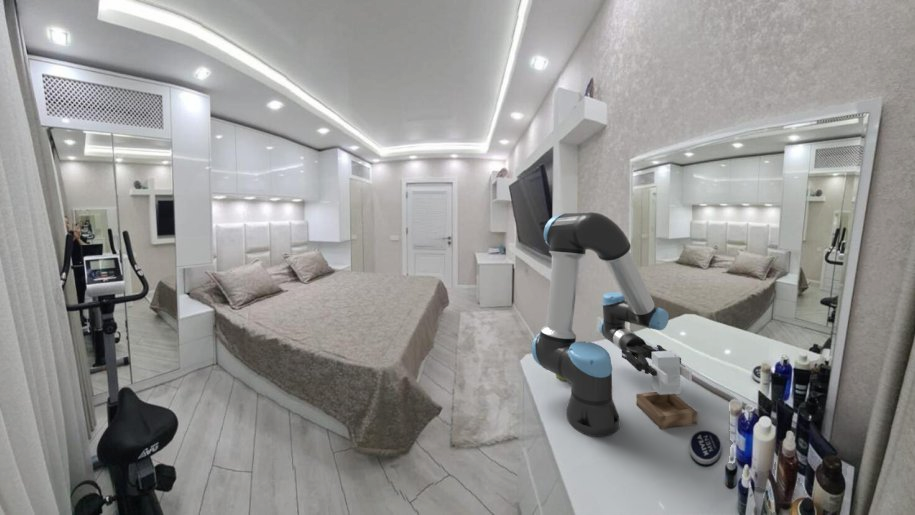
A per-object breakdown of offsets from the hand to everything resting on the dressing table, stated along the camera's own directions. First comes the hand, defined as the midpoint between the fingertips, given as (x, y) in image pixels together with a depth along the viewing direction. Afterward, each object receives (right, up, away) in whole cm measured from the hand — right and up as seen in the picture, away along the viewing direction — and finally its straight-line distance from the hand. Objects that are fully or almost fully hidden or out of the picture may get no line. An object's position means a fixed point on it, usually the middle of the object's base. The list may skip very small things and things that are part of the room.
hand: (678, 377), depth 88 cm
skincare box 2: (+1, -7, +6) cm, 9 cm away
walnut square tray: (+1, -14, +7) cm, 16 cm away
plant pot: (-21, -13, +33) cm, 41 cm away
